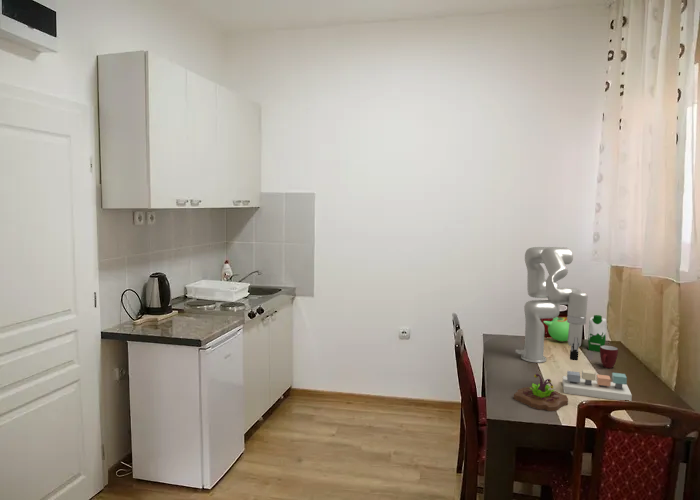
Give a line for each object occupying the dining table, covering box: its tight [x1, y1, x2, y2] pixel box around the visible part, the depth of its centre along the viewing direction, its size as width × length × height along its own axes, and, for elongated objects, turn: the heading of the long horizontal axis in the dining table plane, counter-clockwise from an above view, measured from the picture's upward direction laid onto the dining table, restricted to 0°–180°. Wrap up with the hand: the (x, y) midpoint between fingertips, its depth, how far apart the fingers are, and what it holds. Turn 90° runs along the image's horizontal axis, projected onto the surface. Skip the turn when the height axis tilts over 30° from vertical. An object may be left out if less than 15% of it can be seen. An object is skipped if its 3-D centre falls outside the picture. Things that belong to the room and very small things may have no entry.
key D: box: [611, 372, 628, 389], centre depth 215 cm, size 5×5×6 cm
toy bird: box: [542, 316, 569, 342], centre depth 299 cm, size 18×17×15 cm
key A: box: [566, 370, 581, 384], centre depth 222 cm, size 5×5×6 cm
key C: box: [595, 373, 612, 388], centre depth 218 cm, size 5×5×6 cm
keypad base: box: [562, 375, 633, 402], centre depth 219 cm, size 26×14×3 cm, turn 69°
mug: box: [599, 345, 619, 369], centre depth 251 cm, size 10×8×10 cm
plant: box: [513, 373, 569, 412], centre depth 209 cm, size 20×20×11 cm
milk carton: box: [587, 314, 608, 353], centre depth 281 cm, size 9×9×20 cm
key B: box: [581, 368, 597, 385], centre depth 220 cm, size 5×5×6 cm
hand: (573, 359), depth 222 cm, fingers closed
